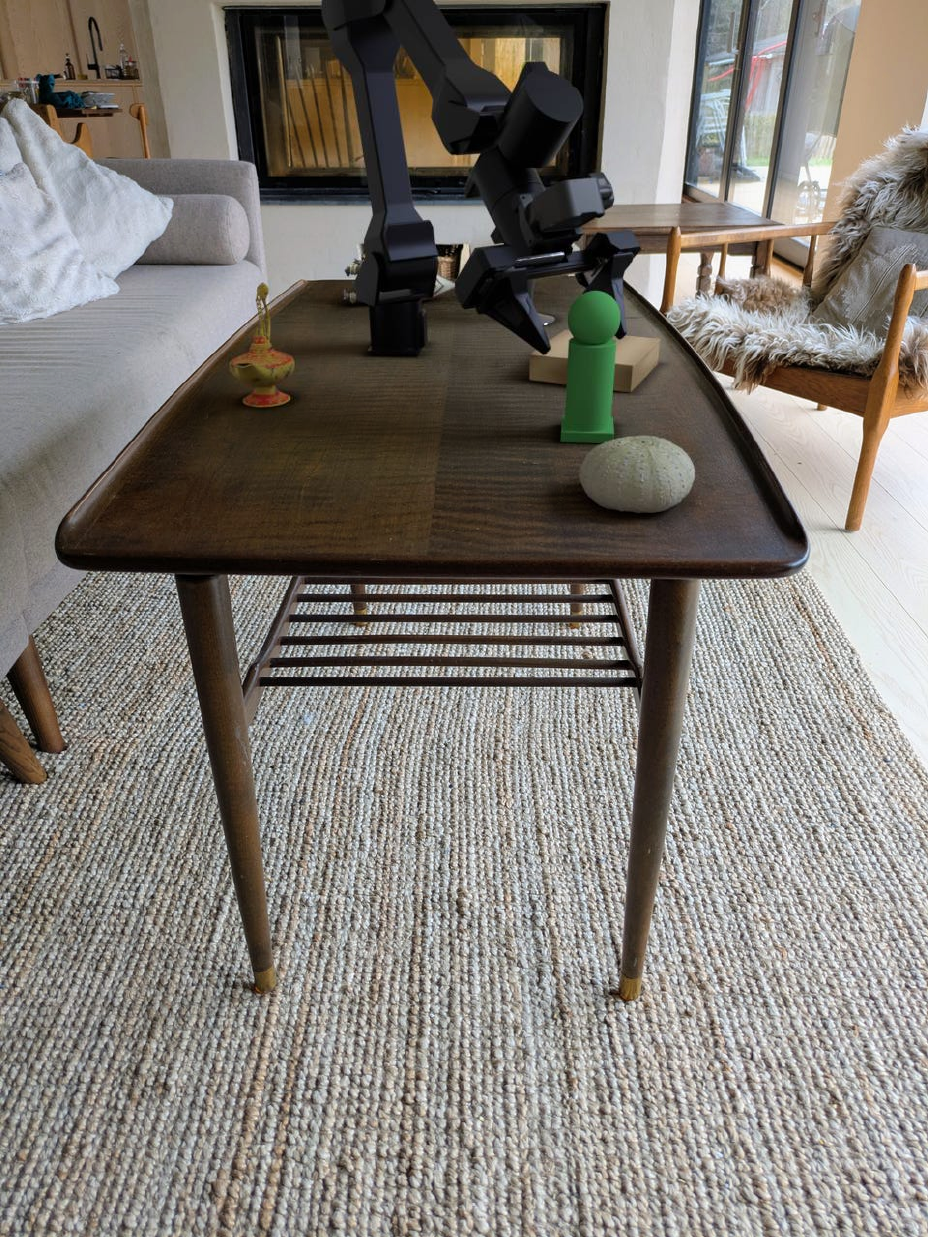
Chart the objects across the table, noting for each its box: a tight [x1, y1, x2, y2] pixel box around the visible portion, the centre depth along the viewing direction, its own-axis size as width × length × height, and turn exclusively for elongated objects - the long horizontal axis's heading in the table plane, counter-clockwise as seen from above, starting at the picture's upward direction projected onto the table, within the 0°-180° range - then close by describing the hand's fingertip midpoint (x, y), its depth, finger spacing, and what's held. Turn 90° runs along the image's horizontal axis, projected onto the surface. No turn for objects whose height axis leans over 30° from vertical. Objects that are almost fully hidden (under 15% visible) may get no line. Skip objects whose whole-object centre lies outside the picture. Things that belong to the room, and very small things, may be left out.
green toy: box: [560, 291, 620, 444], centre depth 85 cm, size 5×5×13 cm
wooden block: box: [528, 329, 661, 393], centre depth 105 cm, size 12×12×3 cm
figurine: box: [343, 258, 455, 304], centre depth 138 cm, size 20×6×17 cm
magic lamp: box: [229, 282, 296, 408], centre depth 94 cm, size 7×18×11 cm, turn 2°
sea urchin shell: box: [578, 435, 696, 514], centre depth 74 cm, size 9×8×8 cm
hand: (586, 344), depth 85 cm, fingers open, 9 cm apart
